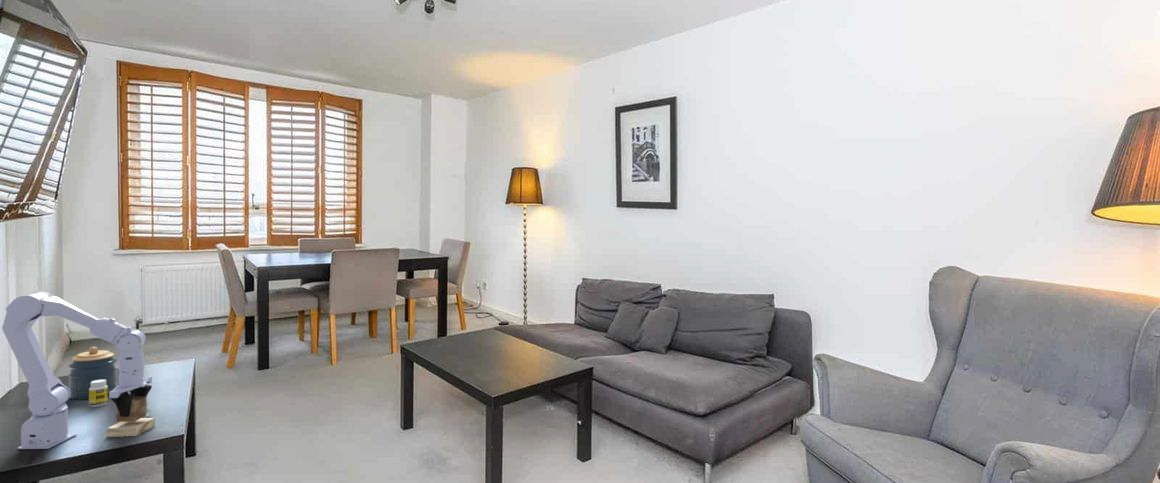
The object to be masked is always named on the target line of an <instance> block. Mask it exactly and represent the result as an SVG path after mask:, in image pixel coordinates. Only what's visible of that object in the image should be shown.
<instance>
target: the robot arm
mask: <svg viewBox="0 0 1160 483" xmlns="http://www.w3.org/2000/svg"><path fill="white" fill-rule="evenodd" d="M5 312H6V313H5V317H4V320H3V323H2V325H1V329H2V332H3V334H4V336H5V338H6V340H7V342H8V344H9V347H10V348H11V351H12V352H13V354H14V356H15V358H16V361H17V362H18V365H19V367H20V370H21V371H22V373H23V376H24V378H25V380H26V381H27V384H28V389H27V397H28V405H27V406H28V410H29V412H31V413H32V415H31V416H30V418H28V419H27V420H25V422H23V424H22V425H21V427H20V443H21V444H20V446H18V447H17V449H18V450H46V449H47V450H48V449H50V448H53V447H54V446H57V445H59V444H60V443H64V442H65V441H68V440H70V439H72V438H74V437H76V436H77V433H68V432H69V430H68V429H69V427H68V426H69V422H68V420H69V419H68V418H69V417H68V414H69V411H68V408H69V407H68V405H67V404H66V402H67V401H69V399H71V398H70V395H71V392H70V390H69V387H68V386H67V385H65V384H63V382H62V381H61V379H60V378H58V377H57V376H55V375H54V373H53V371H52V369H51V367H50V365H49V363H48V361H47V359H46V358H47V357H46V356H45V354H44V351H43V349H42V347H41V346H40V343H39V341H38V339H37V337H36V335H35V333H34V330H33V328H32V327H33V325H34V324H35V323H36V322H37V321H38V320H39V318H40V317H52V316H53V317H56V316H58V317H60V318H64V319H65V320H69V321H71V322H73V323H76V324H79V325H81V326H83V327H85V328H88V329H89V332H90V334H91V335H92V336H94V337H97V338H99V339H101V340H103V341H106V342H107V343H110V344H113V345H115V347H116V348H117V350H118V351H119V358H118V365H119V368H118V369H119V370H118V376H119V378H118V384H119V385H118V384H117V387H116V388H115V389H113V390H112V391H110V392H109V395H108V396H109V399H111V401H112V402H113V403H114V404H115V406H116V409H117V408H118V411H119V413H120V416H121V417H128V416H129V414H130V409H131V403H132V400H133V398H134V397H146V398H147V396H148V395H149V393H150V391H151V390H152V388H153V387H152V385H151V384H152V383H153V376H144V375H145V371H144V368H145V364H144V363H145V360H144V358H145V356H144V344H145V342H146V338H147V336H146V335H145V333H144V332H143V331H142V330H140V329H138V328H134V329H133V327H131V326H126V325H124V324H121V323H119V322H118V321H117V319H116V318H114V317H110V318H108V317H102V318H98V317H97V316H94V315H92V314H91V313H88V312H86V311H85V310H83V309H81V308H78V307H77V306H76V305H73V304H71V303H69V302H68V301H65V300H64V299H62V298H60V297H59V296H56V295H52V294H51V293H48V292H47V291H42V290H41V291H35V292H32V293H30V294H26V295H21V296H17V297H16V298H14V299H13V300H12V301H11V302H10V303H9V304H8V305H7V306H6V307H5ZM116 321H117V322H116ZM149 384H150V385H149Z"/></svg>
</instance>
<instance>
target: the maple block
mask: <svg viewBox="0 0 1160 483" xmlns="http://www.w3.org/2000/svg"><path fill="white" fill-rule="evenodd" d="M155 422H156V418H155V417H147V418H140V419H138V420H136V421H135V422H117V423H114V424H113V425H111V426H109V427H107V428H106V438H107V437H108V438H113V437H114V438H115V437H117V438H118V437H119V438H122V437H124V436H127V437H128V436H136V437H138V436H139V435H141V434H143V433H145V432H147V431H149V430H150V429H151V428H153V427H155V426H156V423H155ZM146 430H147V431H146ZM144 431H145V432H144ZM142 432H143V433H142ZM137 435H138V436H137ZM124 438H125V437H124Z"/></svg>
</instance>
